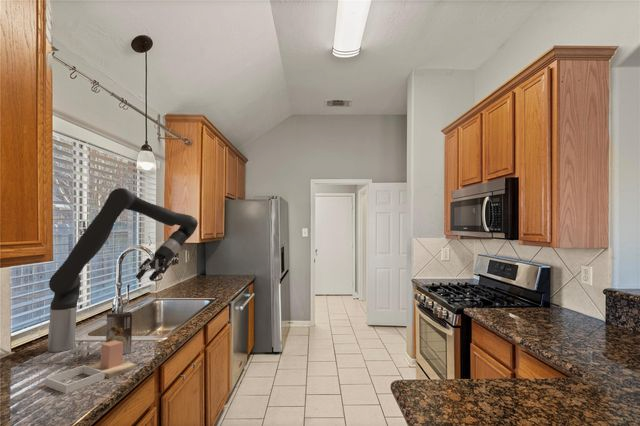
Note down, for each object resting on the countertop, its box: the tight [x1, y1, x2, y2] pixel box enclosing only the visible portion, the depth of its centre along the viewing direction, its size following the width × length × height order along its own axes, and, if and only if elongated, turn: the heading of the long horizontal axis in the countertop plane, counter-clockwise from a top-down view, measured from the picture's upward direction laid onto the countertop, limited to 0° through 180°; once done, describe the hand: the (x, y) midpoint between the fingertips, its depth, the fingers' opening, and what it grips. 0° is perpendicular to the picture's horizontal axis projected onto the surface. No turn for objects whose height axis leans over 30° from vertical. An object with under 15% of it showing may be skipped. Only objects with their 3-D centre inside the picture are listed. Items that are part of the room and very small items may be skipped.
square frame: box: [44, 364, 106, 394], centre depth 114 cm, size 12×12×2 cm
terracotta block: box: [99, 340, 124, 369], centre depth 126 cm, size 5×5×8 cm
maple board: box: [87, 360, 137, 379], centre depth 125 cm, size 14×10×2 cm
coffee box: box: [105, 311, 133, 355], centre depth 142 cm, size 9×6×16 cm
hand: (143, 279), depth 144 cm, fingers open, 8 cm apart
